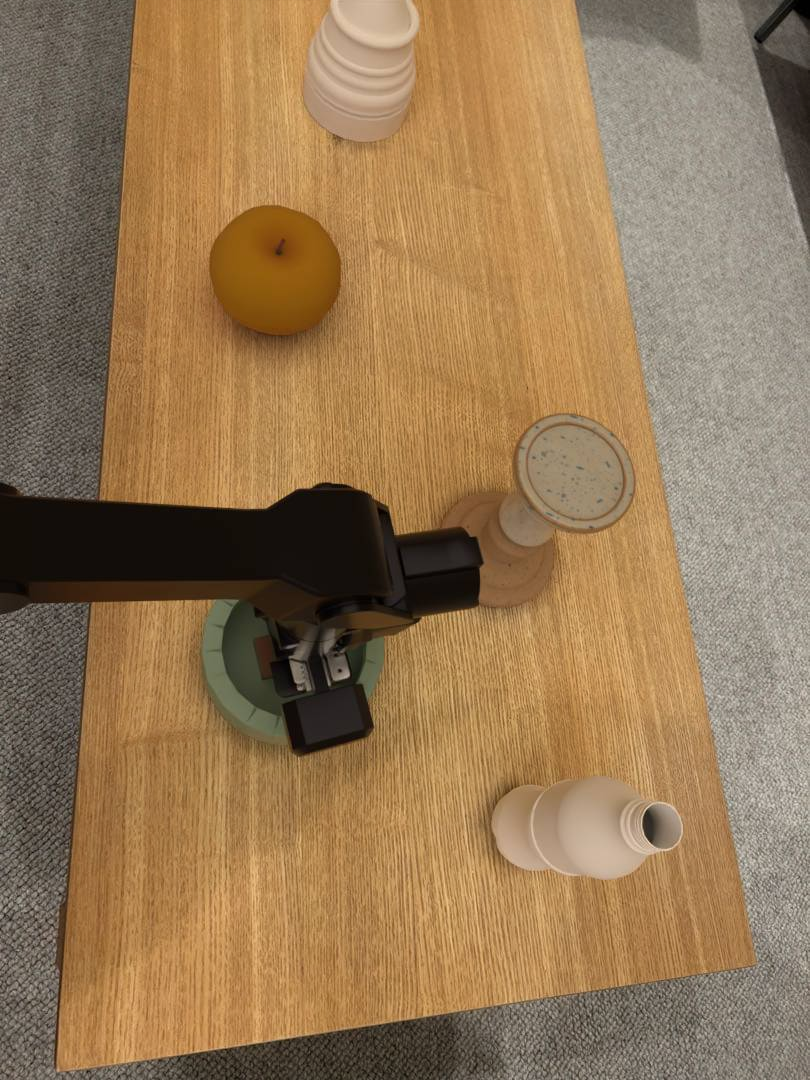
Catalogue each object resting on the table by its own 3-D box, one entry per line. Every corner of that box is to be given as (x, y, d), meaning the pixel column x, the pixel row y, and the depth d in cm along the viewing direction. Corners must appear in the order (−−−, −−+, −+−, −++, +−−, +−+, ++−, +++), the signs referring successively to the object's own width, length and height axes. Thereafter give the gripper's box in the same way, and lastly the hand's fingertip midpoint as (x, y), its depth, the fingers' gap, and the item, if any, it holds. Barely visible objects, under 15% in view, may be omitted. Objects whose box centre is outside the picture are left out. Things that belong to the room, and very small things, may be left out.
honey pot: (427, 110, 101) (470, -31, 84) (358, 159, 96) (390, 19, 79) (351, 44, 102) (380, -108, 85) (280, 89, 97) (295, -63, 80)
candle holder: (430, 494, 83) (494, 398, 65) (541, 495, 86) (633, 403, 68) (442, 611, 79) (514, 544, 61) (559, 607, 82) (661, 542, 64)
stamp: (261, 682, 71) (266, 667, 65) (252, 644, 72) (256, 626, 65) (327, 666, 73) (338, 650, 66) (317, 629, 74) (327, 609, 67)
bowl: (222, 765, 70) (224, 759, 64) (187, 599, 74) (185, 578, 68) (388, 720, 75) (405, 710, 68) (346, 566, 79) (358, 542, 72)
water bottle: (546, 881, 73) (701, 904, 50) (473, 852, 72) (597, 863, 49) (566, 802, 76) (722, 791, 53) (497, 774, 75) (624, 750, 52)
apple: (346, 351, 87) (365, 285, 76) (226, 373, 83) (229, 306, 72) (310, 252, 90) (324, 176, 79) (194, 268, 86) (192, 190, 75)
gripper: (463, 705, 55) (410, 731, 69) (389, 458, 60) (354, 530, 74) (304, 749, 52) (283, 767, 66) (240, 484, 57) (233, 554, 71)
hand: (292, 648), depth 69 cm, fingers closed on stamp, 2 cm apart
